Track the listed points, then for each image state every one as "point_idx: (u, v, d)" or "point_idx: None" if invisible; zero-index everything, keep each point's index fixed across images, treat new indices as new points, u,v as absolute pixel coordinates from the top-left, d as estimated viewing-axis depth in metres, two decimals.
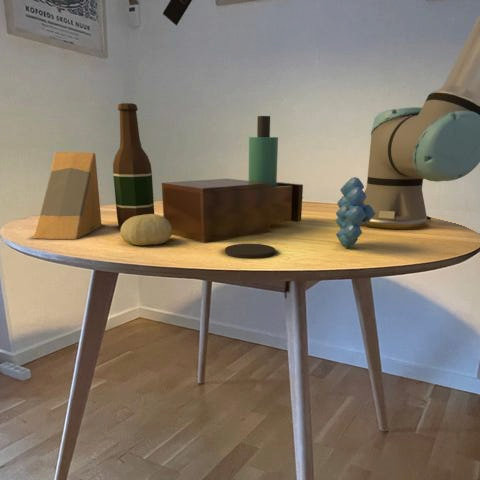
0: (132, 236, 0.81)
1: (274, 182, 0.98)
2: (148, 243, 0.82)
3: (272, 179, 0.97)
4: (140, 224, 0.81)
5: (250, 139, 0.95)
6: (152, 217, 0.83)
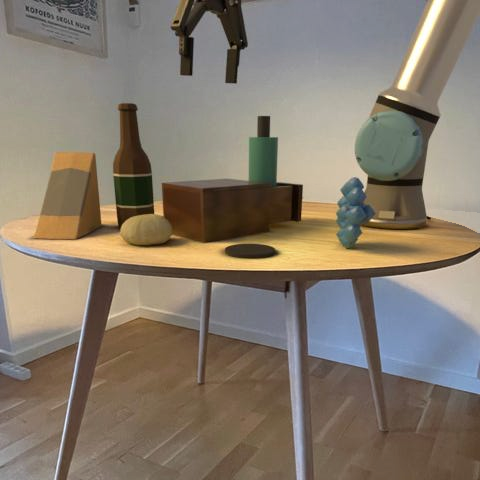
0: (132, 236, 0.81)
1: (274, 182, 0.98)
2: (148, 243, 0.82)
3: (272, 179, 0.97)
4: (140, 224, 0.81)
5: (250, 139, 0.95)
6: (152, 217, 0.83)
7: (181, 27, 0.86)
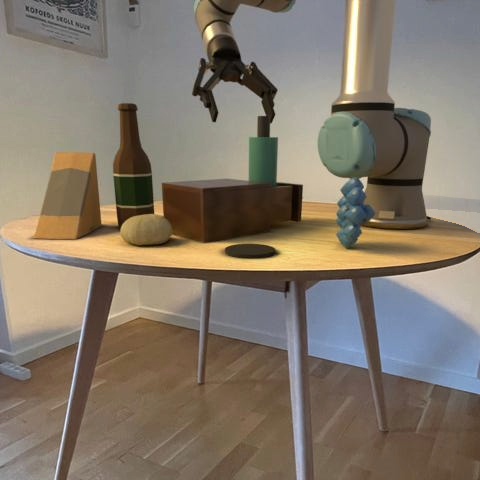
0: (132, 236, 0.81)
1: (274, 182, 0.98)
2: (148, 243, 0.82)
3: (272, 179, 0.97)
4: (140, 224, 0.81)
5: (250, 139, 0.95)
6: (152, 217, 0.83)
7: (195, 85, 1.02)
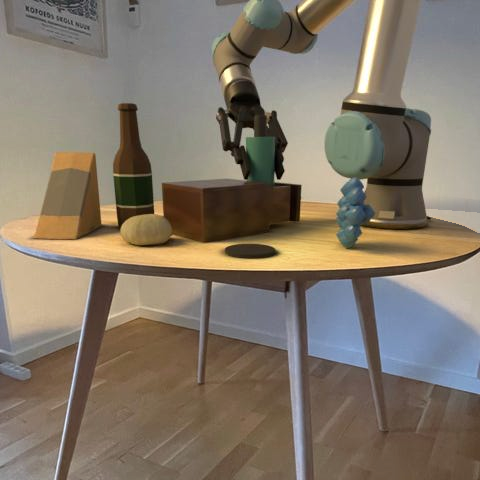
0: (132, 236, 0.81)
1: (272, 182, 0.98)
2: (148, 243, 0.82)
3: (270, 178, 0.97)
4: (140, 224, 0.81)
5: (247, 139, 0.95)
6: (152, 217, 0.83)
7: (227, 141, 0.95)
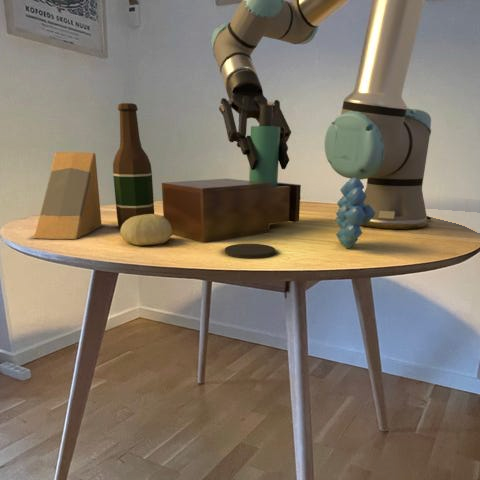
0: (132, 236, 0.81)
1: (275, 172, 0.97)
2: (148, 243, 0.82)
3: (274, 169, 0.96)
4: (140, 224, 0.81)
5: (252, 128, 0.94)
6: (152, 217, 0.83)
7: (233, 131, 0.95)
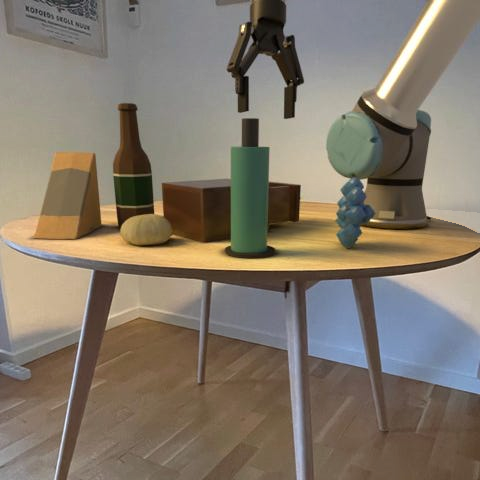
0: (132, 236, 0.81)
1: (265, 206, 0.74)
2: (148, 243, 0.82)
3: (262, 202, 0.73)
4: (140, 224, 0.81)
5: (232, 149, 0.71)
6: (152, 217, 0.83)
7: (235, 67, 0.92)
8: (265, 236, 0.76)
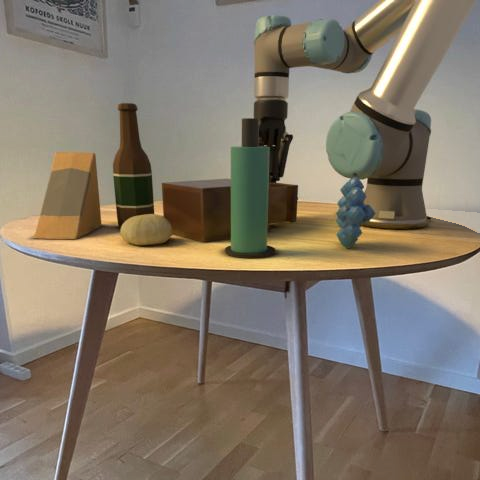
0: (132, 236, 0.81)
1: (265, 206, 0.74)
2: (148, 243, 0.82)
3: (262, 202, 0.73)
4: (140, 224, 0.81)
5: (232, 149, 0.71)
6: (152, 217, 0.83)
7: None
8: (265, 236, 0.76)
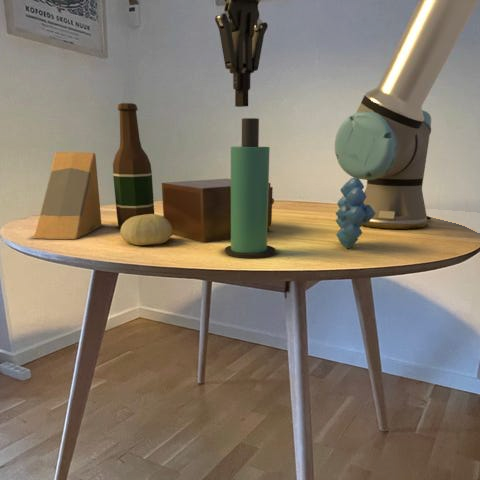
0: (132, 236, 0.81)
1: (265, 206, 0.74)
2: (148, 243, 0.82)
3: (262, 202, 0.73)
4: (140, 224, 0.81)
5: (232, 149, 0.71)
6: (152, 217, 0.83)
7: (234, 66, 0.98)
8: (265, 236, 0.76)
